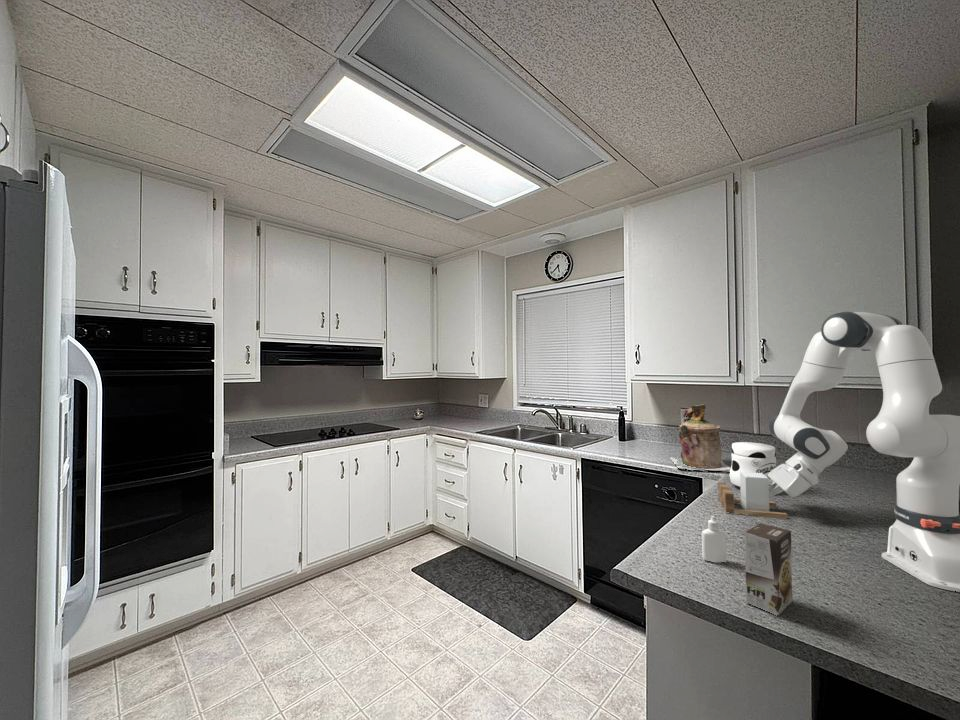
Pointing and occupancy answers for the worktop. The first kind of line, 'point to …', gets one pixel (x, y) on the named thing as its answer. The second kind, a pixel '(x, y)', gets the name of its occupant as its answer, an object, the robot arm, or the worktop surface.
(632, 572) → the worktop surface
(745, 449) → the milk container
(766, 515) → the guide rails
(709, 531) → the eye dropper bottle
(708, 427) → the cookie jar
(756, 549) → the coffee box
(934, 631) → the worktop surface
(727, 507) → the stop board
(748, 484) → the supplement box
